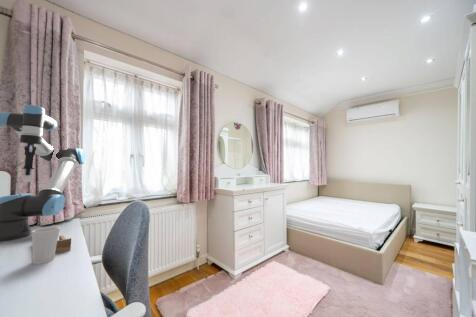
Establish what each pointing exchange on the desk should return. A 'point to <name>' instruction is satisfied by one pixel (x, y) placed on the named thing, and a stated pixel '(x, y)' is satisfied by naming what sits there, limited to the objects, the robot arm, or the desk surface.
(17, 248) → the desk surface
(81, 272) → the desk surface
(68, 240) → the cradle
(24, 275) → the desk surface
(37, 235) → the cup
